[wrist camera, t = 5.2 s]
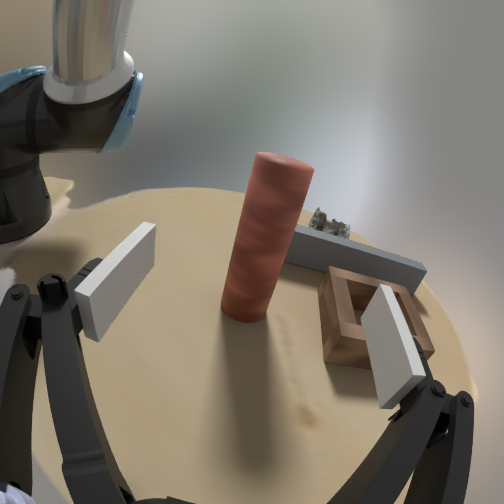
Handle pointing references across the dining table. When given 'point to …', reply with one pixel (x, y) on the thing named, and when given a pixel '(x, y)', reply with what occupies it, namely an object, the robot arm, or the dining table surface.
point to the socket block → (343, 318)
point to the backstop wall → (352, 258)
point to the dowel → (264, 233)
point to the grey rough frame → (329, 225)
